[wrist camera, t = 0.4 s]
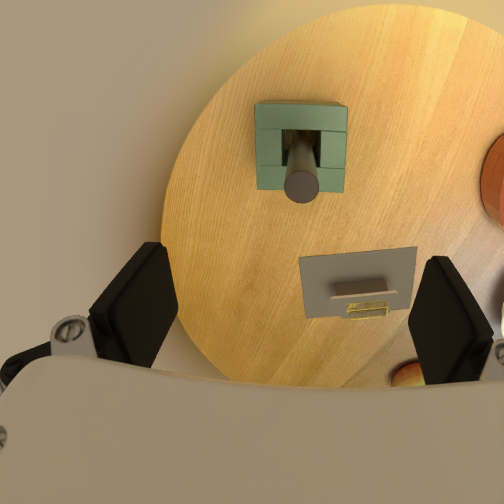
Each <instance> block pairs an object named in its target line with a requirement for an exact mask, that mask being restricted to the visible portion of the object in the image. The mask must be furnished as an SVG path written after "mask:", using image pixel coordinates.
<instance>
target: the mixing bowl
mask: <svg viewBox="0 0 504 504" xmlns="http://www.w3.org/2000/svg"><path fill="white" fill-rule="evenodd" d="M481 195H482V200H483V203H484V206H485V210H486V212H487V213H488V215H489V216H490V218H491V219H492V220H493V221H494V222H495V223H496V224H497V225H498V226H499V227H500V228H501V229H502V230H503V231H504V135H503V136H501V137H500V138H499V139H498V140H497V141H496V143H495V144H494V145H493V147H492V148H491V150H490V151H489V154H488V156H487V158H486V161H485V163H484V167H483V173H482V178H481Z"/></svg>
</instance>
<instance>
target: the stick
mask: <svg viewBox="0 0 504 504" xmlns="http://www.w3.org/2000/svg"><path fill="white" fill-rule="evenodd" d="M284 191H285V193H286V195H287V197H288V198H289V199H291V200H292V201H294V202H296V203H307V202H310V201H312V200H313V199H314V198H315V197H316V196H317V194H318V192H319V182H318V176H317V170H316V165H315V159H314V154H313V149H312V144H311V139H310V134H309V132H308V130H294V131H293V132H292V137H291V144H290V150H289V157H288V163H287V169H286V175H285V181H284Z"/></svg>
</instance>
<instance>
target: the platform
mask: <svg viewBox="0 0 504 504" xmlns="http://www.w3.org/2000/svg"><path fill="white" fill-rule="evenodd" d="M416 255H417V247H409V248H398V249H388V250H377V251H367V252H356V253H345V254H334V255H323V256H311V257H300V258H299V265H300V273H301V281H302V289H303V298H304V306H305V315H306V318H317V317H330V316H341V317H342V318H348V320H355V319H353V318H355V317H356V319H365V318H375V317H384V316H387V313H389V312H390V311H391V310H400V309H408V308H410V302H411V295H412V289H413V281H414V273H415V264H416ZM377 315H379V316H377ZM381 315H384V316H381ZM365 316H366V317H365ZM367 316H370V317H367ZM372 316H374V317H372ZM358 317H361V318H358ZM362 317H365V318H362ZM349 318H352V319H349Z"/></svg>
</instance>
